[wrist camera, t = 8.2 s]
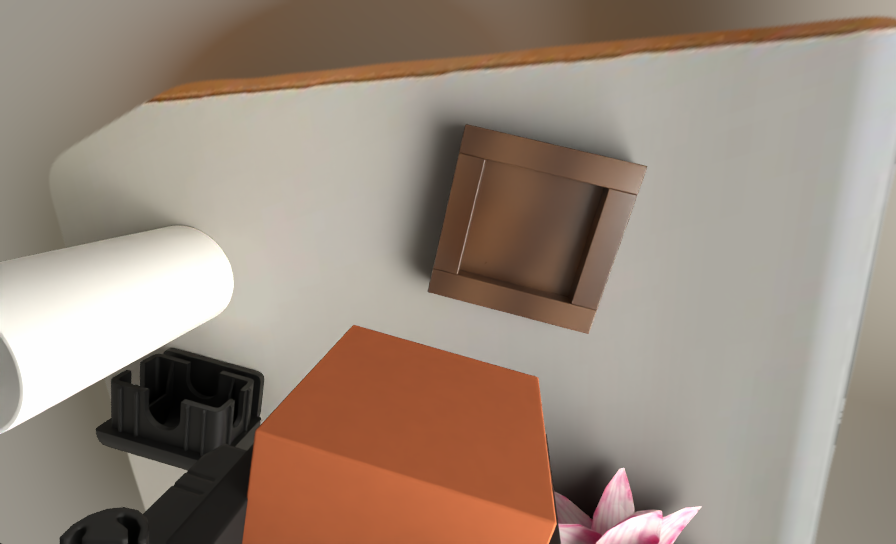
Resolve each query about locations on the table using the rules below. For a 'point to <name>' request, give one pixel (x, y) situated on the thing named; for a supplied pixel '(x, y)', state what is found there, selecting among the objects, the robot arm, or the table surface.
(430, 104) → the table surface
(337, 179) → the table surface
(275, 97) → the table surface
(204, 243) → the cup
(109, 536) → the robot arm
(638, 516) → the decorative flower
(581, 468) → the table surface
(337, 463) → the orange cube
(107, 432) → the end cap
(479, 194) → the brown wooden tray
